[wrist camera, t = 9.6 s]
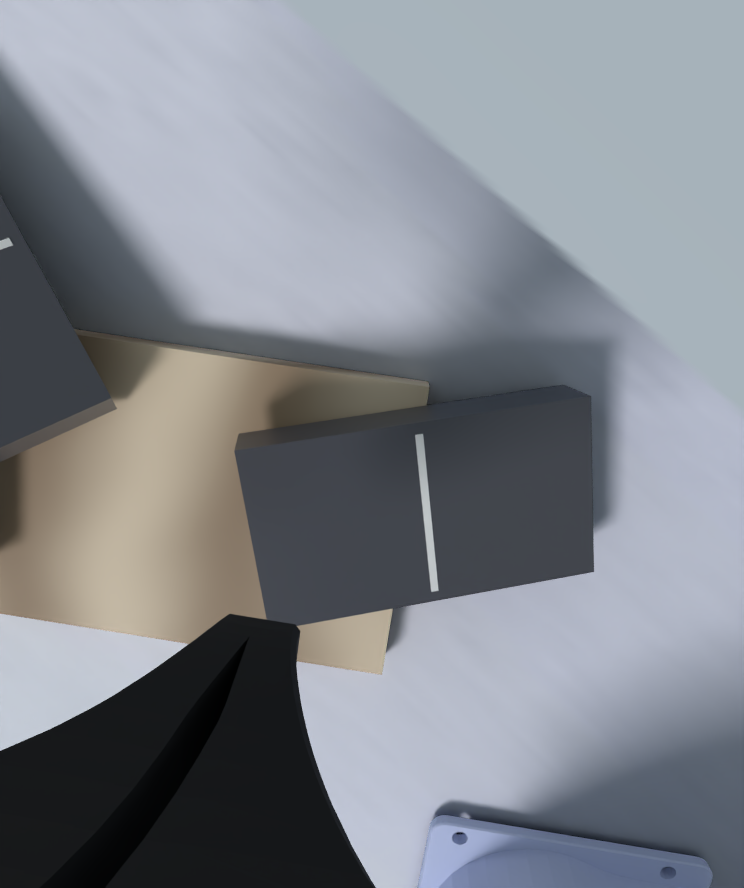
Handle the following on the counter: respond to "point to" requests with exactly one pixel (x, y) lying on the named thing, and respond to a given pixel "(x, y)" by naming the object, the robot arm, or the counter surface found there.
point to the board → (171, 496)
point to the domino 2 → (419, 503)
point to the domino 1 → (39, 355)
